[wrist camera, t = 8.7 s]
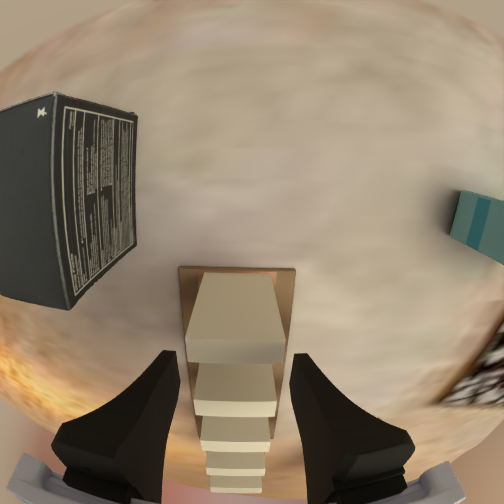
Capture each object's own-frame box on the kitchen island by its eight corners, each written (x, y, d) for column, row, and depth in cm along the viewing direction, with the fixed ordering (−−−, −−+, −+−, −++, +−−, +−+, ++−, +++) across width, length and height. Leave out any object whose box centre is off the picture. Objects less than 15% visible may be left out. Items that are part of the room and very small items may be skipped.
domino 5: (257, 433, 28) (261, 492, 20) (214, 432, 28) (211, 492, 20) (257, 426, 28) (262, 487, 20) (214, 425, 28) (209, 486, 20)
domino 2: (265, 341, 24) (274, 416, 16) (207, 340, 24) (195, 415, 16) (266, 326, 23) (277, 401, 15) (206, 324, 23) (193, 399, 15)
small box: (70, 121, 18) (-21, 114, 8) (140, 112, 18) (61, 84, 8) (73, 244, 21) (-5, 298, 11) (139, 248, 21) (73, 314, 11)
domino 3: (262, 379, 25) (268, 451, 17) (209, 378, 25) (202, 450, 17) (263, 368, 25) (270, 441, 17) (209, 367, 25) (200, 440, 17)
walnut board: (272, 435, 29) (273, 439, 29) (199, 434, 29) (199, 438, 28) (294, 268, 22) (296, 271, 22) (180, 266, 22) (178, 268, 21)
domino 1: (269, 292, 22) (282, 363, 14) (205, 291, 22) (187, 361, 14) (270, 273, 22) (285, 339, 14) (204, 272, 21) (185, 337, 13)
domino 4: (259, 409, 27) (264, 475, 19) (212, 409, 27) (207, 474, 19) (260, 400, 26) (265, 468, 18) (211, 399, 26) (205, 467, 18)
